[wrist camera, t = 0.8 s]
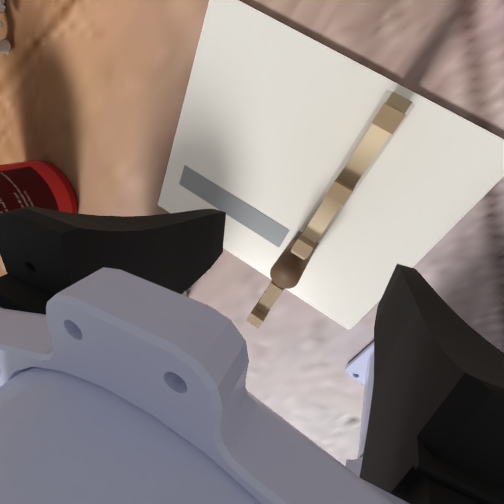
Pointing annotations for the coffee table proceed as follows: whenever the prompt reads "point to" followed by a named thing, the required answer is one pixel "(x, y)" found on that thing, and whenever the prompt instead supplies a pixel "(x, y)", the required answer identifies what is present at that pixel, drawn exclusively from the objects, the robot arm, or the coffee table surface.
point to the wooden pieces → (279, 282)
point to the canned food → (35, 187)
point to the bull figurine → (4, 44)
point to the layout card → (317, 159)
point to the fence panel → (353, 171)
